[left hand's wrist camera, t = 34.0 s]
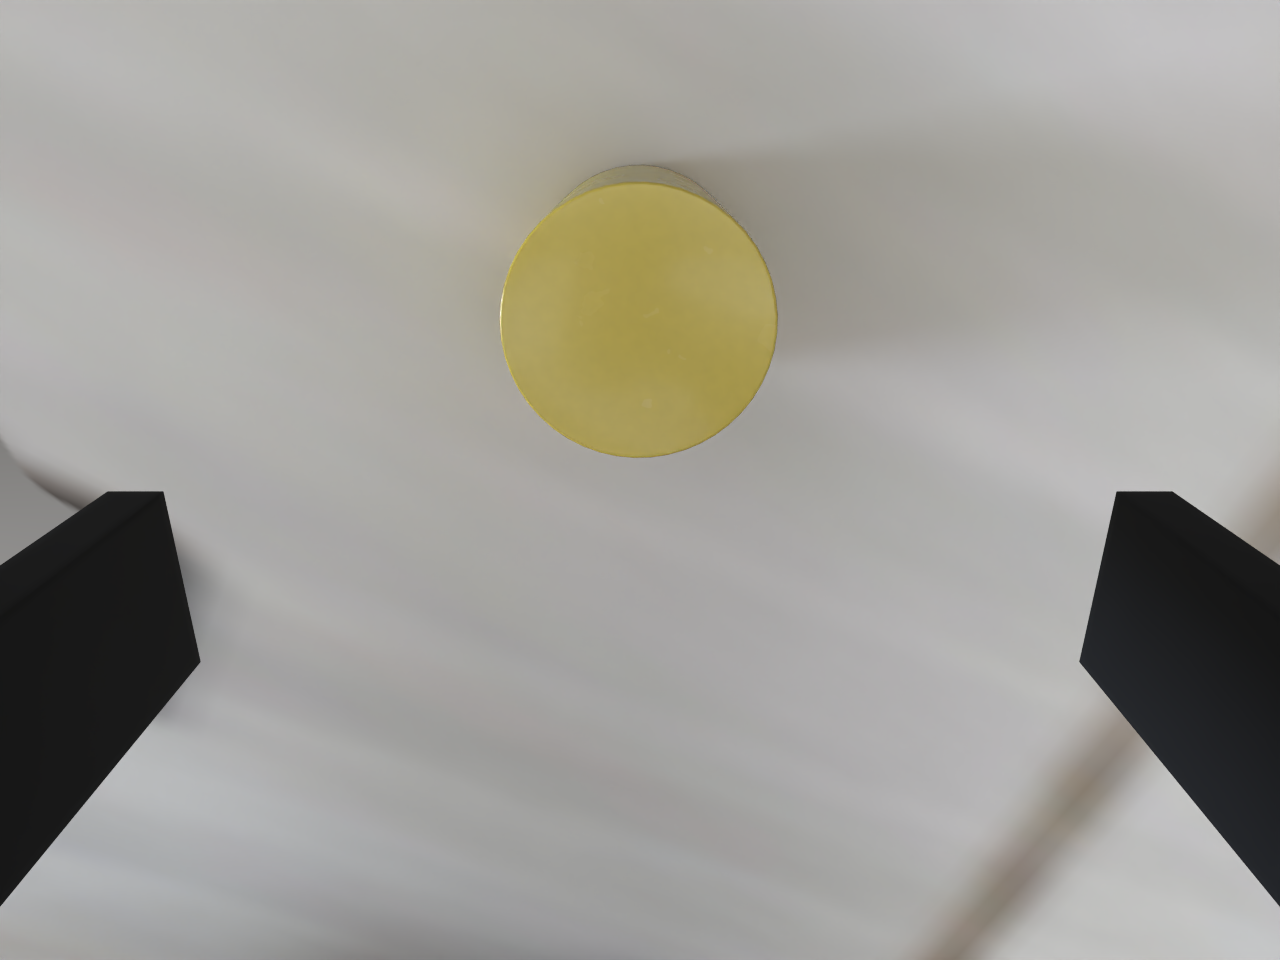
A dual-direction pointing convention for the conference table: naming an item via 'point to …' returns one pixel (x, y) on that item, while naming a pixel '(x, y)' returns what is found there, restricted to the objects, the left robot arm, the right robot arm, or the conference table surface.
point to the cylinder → (638, 315)
